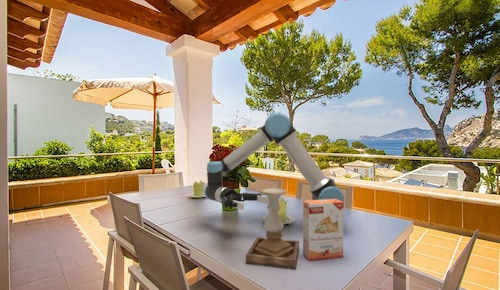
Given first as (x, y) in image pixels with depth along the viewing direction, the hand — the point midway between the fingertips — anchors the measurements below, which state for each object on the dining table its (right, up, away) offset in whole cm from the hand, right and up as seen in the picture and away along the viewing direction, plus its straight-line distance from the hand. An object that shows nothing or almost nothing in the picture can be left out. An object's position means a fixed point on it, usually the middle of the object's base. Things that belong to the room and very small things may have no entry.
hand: (256, 203), depth 104 cm
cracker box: (+25, -18, -8) cm, 32 cm away
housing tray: (+7, -18, -7) cm, 21 cm away
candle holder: (+7, -17, -7) cm, 20 cm away
